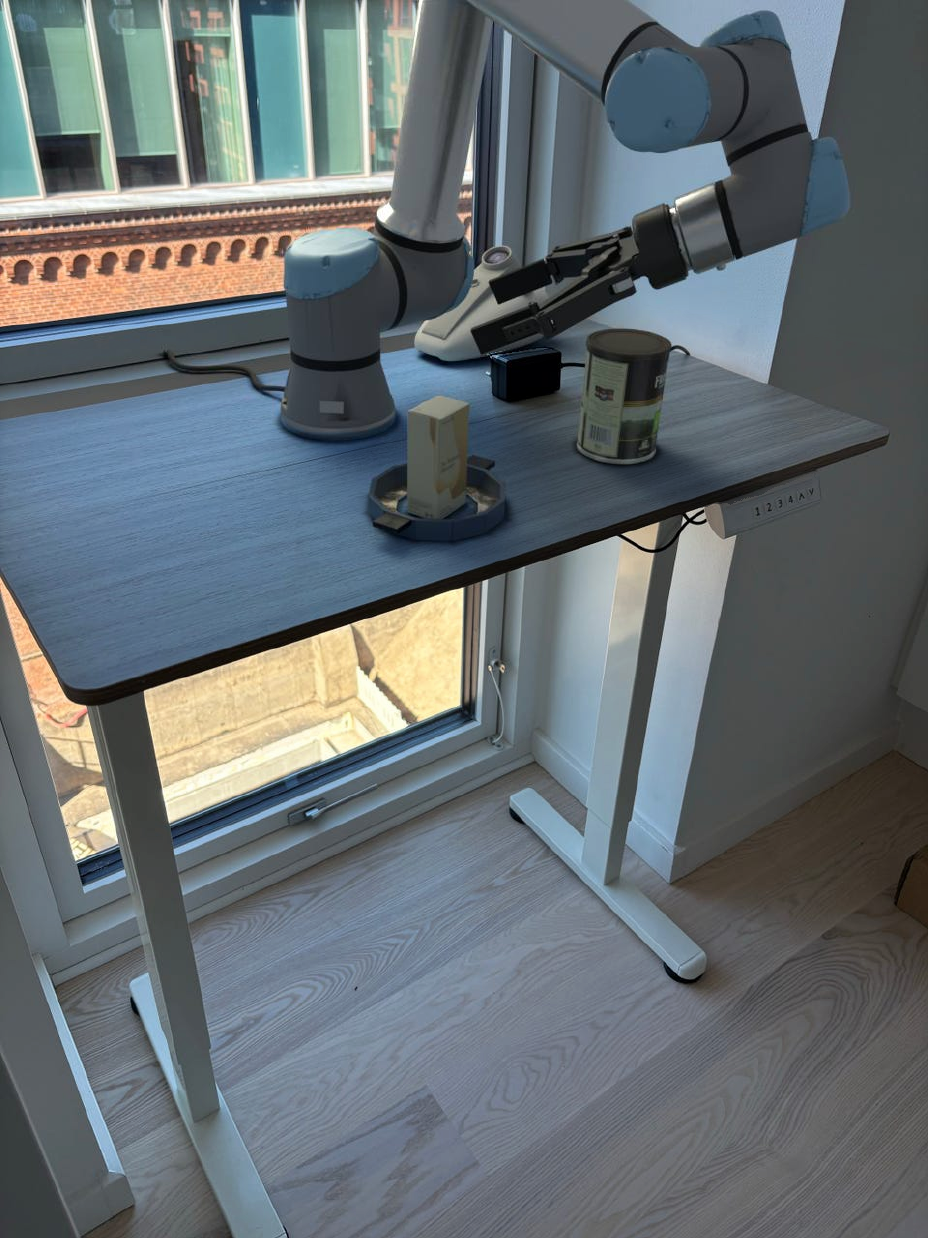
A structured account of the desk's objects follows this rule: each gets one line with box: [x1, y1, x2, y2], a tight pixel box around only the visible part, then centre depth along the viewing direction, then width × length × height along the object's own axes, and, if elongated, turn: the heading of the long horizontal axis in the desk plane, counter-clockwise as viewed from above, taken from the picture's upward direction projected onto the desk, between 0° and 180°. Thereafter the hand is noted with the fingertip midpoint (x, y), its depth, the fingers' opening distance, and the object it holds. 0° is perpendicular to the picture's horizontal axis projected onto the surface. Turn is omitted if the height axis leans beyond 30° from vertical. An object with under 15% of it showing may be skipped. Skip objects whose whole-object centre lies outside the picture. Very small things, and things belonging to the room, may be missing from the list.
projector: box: [414, 245, 550, 362], centre depth 154 cm, size 22×23×15 cm
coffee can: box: [576, 327, 673, 465], centre depth 121 cm, size 10×10×14 cm
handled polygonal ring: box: [368, 454, 506, 542], centre depth 110 cm, size 15×20×2 cm
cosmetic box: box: [406, 394, 470, 519], centre depth 107 cm, size 6×4×12 cm
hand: (484, 315), depth 103 cm, fingers open, 13 cm apart
